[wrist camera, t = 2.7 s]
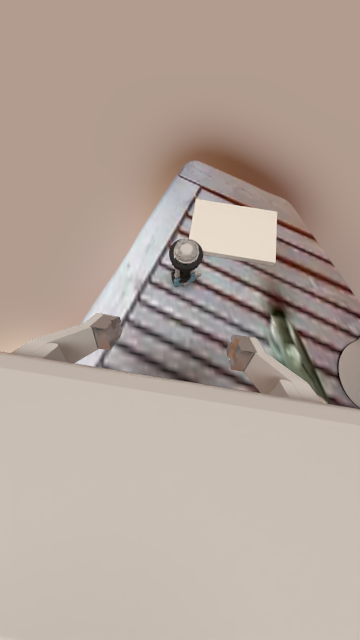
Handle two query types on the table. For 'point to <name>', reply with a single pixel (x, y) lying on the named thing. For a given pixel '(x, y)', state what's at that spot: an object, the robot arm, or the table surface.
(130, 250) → the table surface
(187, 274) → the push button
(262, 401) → the robot arm
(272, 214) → the board
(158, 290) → the table surface
